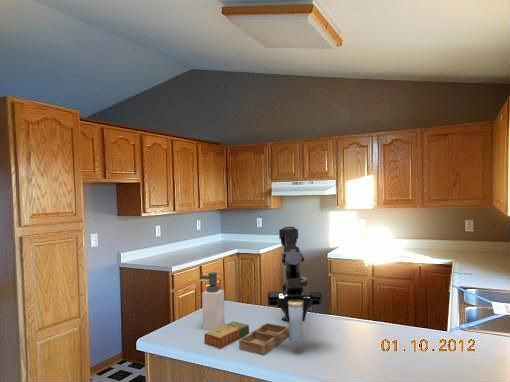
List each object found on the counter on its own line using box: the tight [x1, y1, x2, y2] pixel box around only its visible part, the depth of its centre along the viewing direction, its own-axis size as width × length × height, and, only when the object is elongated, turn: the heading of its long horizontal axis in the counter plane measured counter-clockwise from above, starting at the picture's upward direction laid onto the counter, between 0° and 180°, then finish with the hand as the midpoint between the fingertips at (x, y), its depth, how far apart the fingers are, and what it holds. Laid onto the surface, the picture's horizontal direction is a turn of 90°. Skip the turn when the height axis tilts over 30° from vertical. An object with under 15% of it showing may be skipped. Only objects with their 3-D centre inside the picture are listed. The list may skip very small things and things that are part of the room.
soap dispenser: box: [199, 271, 226, 331], centre depth 151 cm, size 6×9×22 cm
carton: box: [204, 321, 250, 350], centre depth 139 cm, size 8×16×4 cm, turn 142°
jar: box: [288, 299, 304, 343], centre depth 126 cm, size 5×5×13 cm
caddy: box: [238, 322, 289, 356], centre depth 135 cm, size 19×10×3 cm, turn 149°
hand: (296, 321), depth 125 cm, fingers closed on jar, 5 cm apart
